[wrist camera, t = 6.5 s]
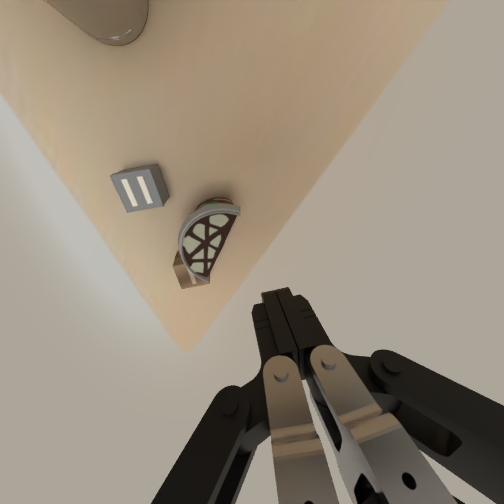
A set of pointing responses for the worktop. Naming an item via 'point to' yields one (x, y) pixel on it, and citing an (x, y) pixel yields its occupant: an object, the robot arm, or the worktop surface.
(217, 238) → the food container
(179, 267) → the walnut block
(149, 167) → the slate block
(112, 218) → the worktop surface
